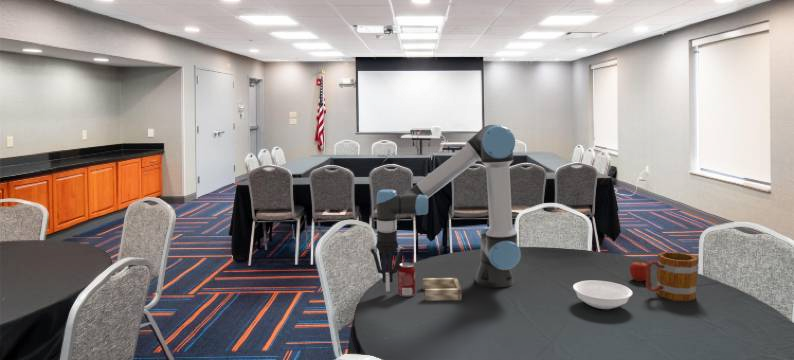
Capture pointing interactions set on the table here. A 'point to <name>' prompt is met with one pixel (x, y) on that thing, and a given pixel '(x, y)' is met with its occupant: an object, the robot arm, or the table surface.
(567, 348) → the table surface
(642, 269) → the apple
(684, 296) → the mug
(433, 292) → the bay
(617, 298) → the bowl
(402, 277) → the soda can
